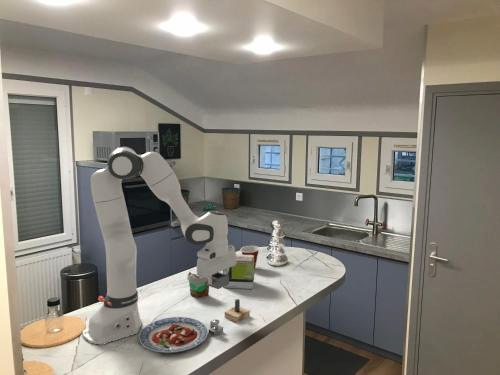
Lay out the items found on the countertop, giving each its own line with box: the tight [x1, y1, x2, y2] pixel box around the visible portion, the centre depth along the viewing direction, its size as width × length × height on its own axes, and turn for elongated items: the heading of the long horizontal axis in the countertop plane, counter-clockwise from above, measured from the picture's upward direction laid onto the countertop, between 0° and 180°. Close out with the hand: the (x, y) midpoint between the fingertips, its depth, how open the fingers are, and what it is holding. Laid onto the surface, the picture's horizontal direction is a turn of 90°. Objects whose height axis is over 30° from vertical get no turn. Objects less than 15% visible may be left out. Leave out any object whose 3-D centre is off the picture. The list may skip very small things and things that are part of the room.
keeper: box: [224, 298, 251, 324], centre depth 171 cm, size 8×7×8 cm
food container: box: [186, 271, 210, 299], centre depth 191 cm, size 12×6×10 cm, turn 62°
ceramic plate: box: [138, 316, 209, 354], centre depth 155 cm, size 26×26×3 cm
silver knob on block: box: [208, 319, 224, 338], centre depth 158 cm, size 5×3×5 cm, turn 139°
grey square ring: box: [207, 271, 229, 290], centre depth 170 cm, size 6×6×4 cm
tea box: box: [222, 253, 255, 290], centre depth 204 cm, size 15×10×15 cm, turn 84°
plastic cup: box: [239, 245, 260, 270], centre depth 227 cm, size 11×11×12 cm
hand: (217, 281), depth 170 cm, fingers closed on grey square ring, 6 cm apart
